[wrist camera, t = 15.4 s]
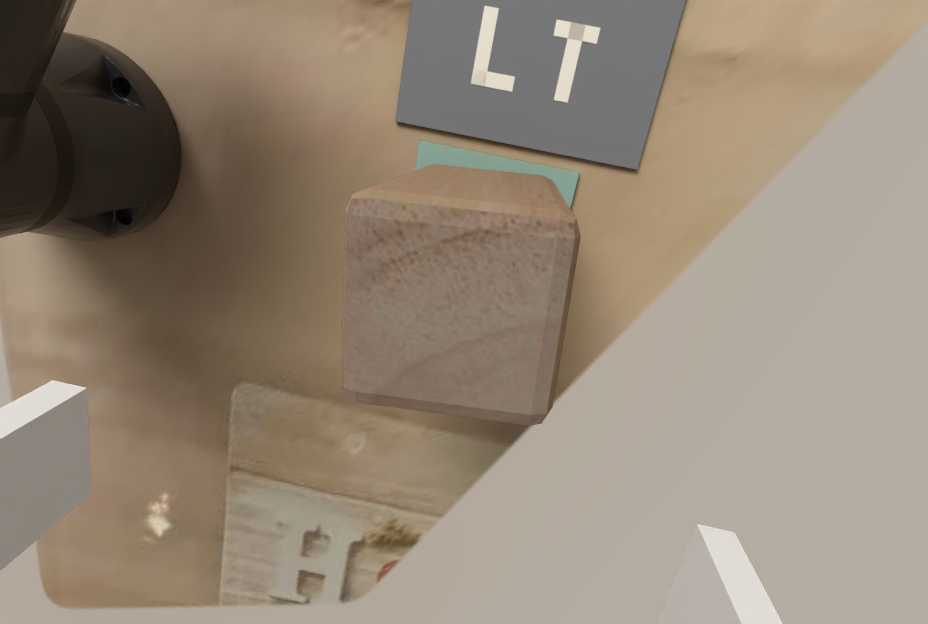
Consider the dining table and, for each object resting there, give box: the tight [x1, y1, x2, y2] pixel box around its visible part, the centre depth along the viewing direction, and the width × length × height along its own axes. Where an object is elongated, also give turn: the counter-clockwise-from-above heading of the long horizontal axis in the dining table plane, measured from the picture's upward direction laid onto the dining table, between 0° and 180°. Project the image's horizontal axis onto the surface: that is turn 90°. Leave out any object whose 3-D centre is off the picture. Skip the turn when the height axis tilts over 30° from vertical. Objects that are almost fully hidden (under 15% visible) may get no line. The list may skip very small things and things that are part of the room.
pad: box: [415, 140, 579, 208], centre depth 42 cm, size 12×12×1 cm
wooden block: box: [341, 164, 580, 426], centre depth 33 cm, size 10×10×20 cm
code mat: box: [395, 0, 685, 170], centre depth 38 cm, size 18×12×1 cm, turn 79°
